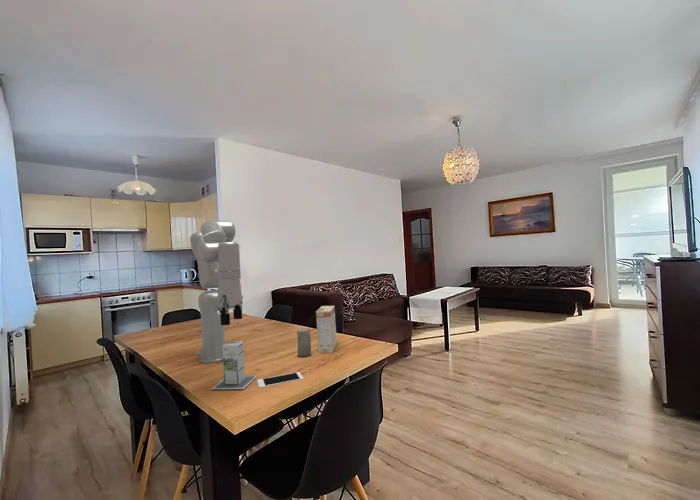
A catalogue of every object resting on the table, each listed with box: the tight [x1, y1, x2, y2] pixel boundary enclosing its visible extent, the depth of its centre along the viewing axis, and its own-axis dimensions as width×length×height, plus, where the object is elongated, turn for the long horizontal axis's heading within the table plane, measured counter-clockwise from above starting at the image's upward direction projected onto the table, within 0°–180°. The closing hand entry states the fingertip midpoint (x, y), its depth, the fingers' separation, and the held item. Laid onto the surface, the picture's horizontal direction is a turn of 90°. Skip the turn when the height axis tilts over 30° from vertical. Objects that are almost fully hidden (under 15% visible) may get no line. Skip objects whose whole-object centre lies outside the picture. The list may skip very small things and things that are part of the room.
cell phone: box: [256, 371, 305, 389], centre depth 121 cm, size 8×16×1 cm, turn 112°
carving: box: [296, 327, 312, 358], centre depth 150 cm, size 6×8×12 cm
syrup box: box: [222, 340, 246, 385], centre depth 120 cm, size 6×6×14 cm
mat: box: [210, 375, 258, 391], centre depth 120 cm, size 12×12×1 cm
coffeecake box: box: [315, 305, 338, 354], centre depth 159 cm, size 15×7×20 cm, turn 174°
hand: (232, 321), depth 120 cm, fingers open, 9 cm apart
